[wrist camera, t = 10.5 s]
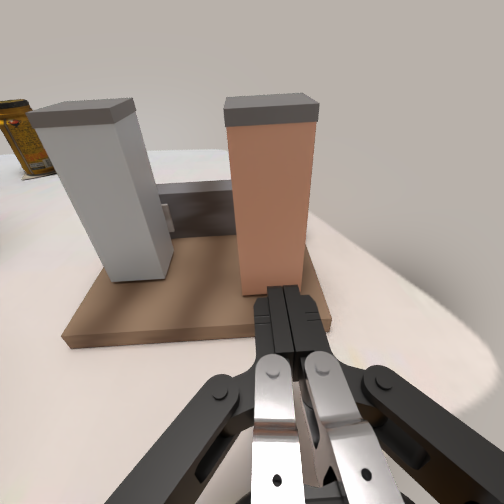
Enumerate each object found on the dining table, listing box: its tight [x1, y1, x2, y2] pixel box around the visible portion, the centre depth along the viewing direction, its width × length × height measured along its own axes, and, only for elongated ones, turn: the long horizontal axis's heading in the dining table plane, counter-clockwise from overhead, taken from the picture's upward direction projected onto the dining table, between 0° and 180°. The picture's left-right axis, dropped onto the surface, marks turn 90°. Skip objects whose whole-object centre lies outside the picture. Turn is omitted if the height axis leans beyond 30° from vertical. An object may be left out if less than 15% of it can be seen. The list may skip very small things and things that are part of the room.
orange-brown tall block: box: [224, 93, 319, 295], centre depth 18 cm, size 5×4×13 cm
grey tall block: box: [25, 98, 174, 282], centre depth 20 cm, size 5×4×13 cm
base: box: [61, 180, 332, 349], centre depth 23 cm, size 19×14×6 cm
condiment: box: [0, 99, 57, 180], centre depth 48 cm, size 7×8×12 cm
